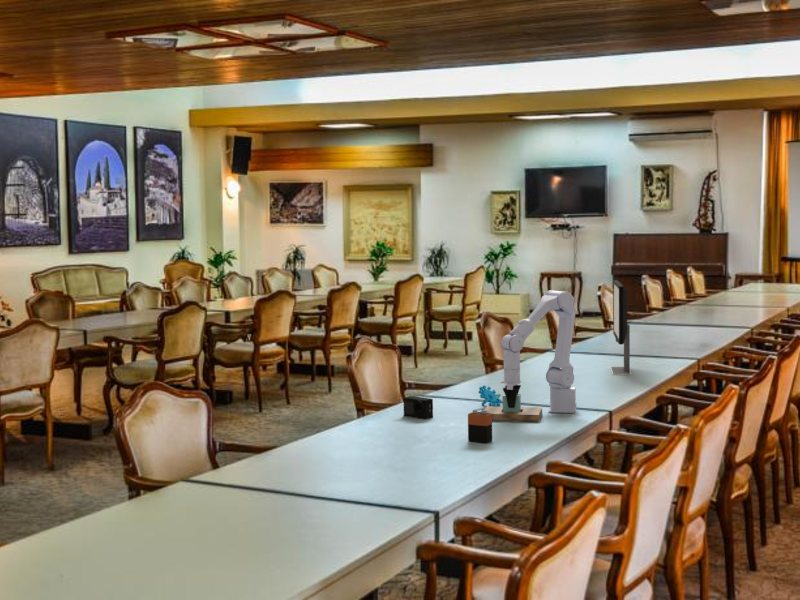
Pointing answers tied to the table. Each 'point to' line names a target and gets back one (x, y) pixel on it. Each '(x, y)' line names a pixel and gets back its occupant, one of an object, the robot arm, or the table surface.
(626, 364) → the computer monitor
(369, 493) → the table surface
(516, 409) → the teal striped block
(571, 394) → the robot arm
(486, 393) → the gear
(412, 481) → the table surface
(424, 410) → the digital camera
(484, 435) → the battery
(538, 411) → the keyed socket
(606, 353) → the table surface
